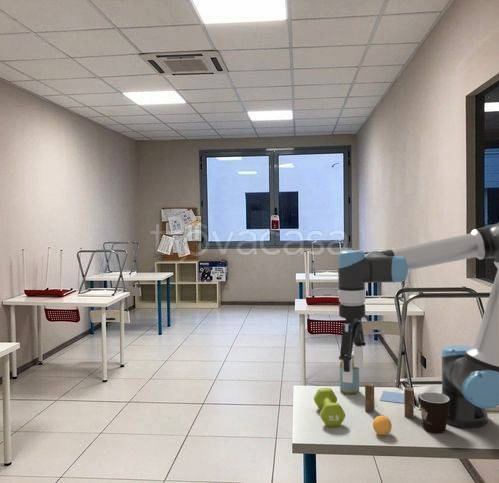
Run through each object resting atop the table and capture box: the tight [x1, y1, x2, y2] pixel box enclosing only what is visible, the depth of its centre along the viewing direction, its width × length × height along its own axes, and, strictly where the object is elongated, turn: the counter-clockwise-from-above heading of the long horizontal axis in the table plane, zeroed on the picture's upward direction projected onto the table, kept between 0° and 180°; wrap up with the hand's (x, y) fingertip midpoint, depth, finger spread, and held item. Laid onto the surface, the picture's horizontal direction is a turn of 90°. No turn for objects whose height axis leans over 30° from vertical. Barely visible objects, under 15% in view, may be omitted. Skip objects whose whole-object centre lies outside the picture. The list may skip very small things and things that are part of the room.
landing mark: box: [379, 390, 404, 404], centre depth 175 cm, size 9×9×1 cm
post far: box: [364, 382, 375, 413], centre depth 164 cm, size 3×3×9 cm
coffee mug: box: [417, 391, 449, 435], centre depth 151 cm, size 12×9×10 cm
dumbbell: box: [313, 387, 346, 428], centre depth 161 cm, size 16×8×7 cm, turn 1°
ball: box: [372, 415, 393, 436], centre depth 147 cm, size 6×6×6 cm
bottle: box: [339, 349, 360, 396], centre depth 181 cm, size 7×7×15 cm
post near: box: [403, 386, 415, 419], centre depth 159 cm, size 3×3×9 cm
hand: (353, 374), depth 145 cm, fingers open, 13 cm apart
